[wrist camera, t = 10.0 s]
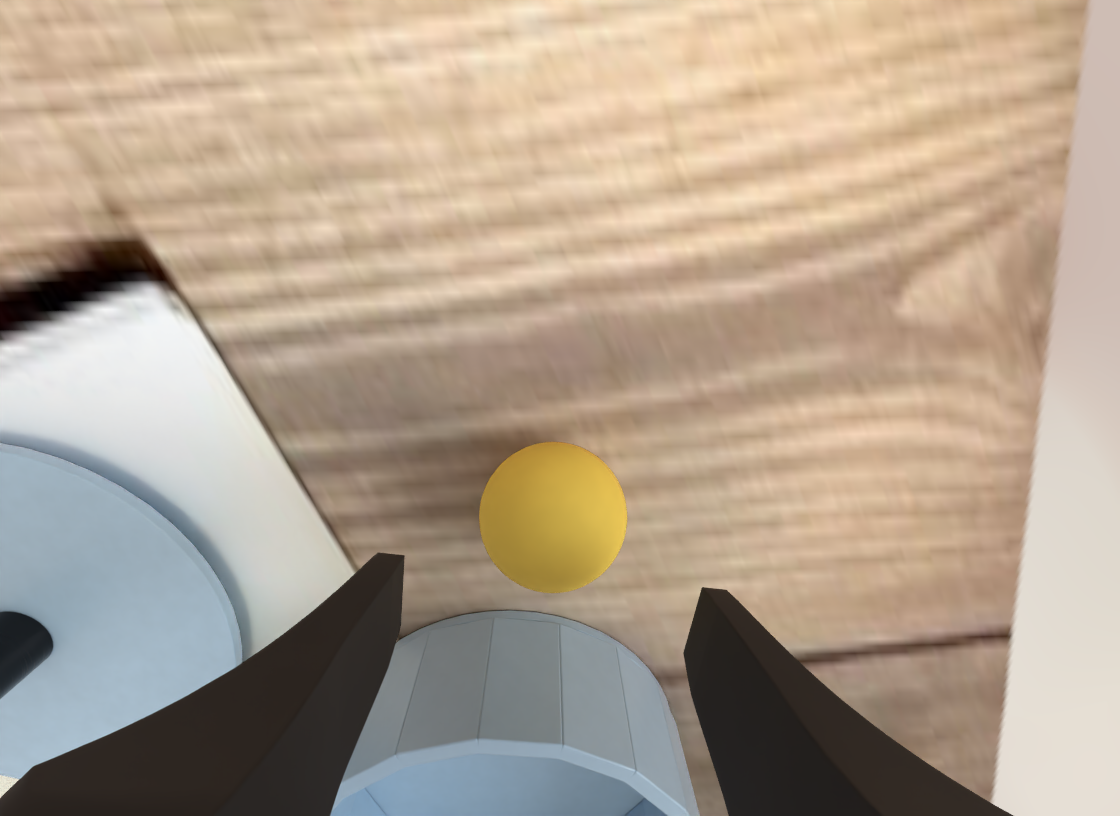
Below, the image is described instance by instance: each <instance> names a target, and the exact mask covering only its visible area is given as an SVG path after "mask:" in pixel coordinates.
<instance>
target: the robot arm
mask: <svg viewBox="0 0 1120 816" xmlns="http://www.w3.org/2000/svg"><path fill="white" fill-rule="evenodd" d="M403 574H404V555H395V554H386V553H377V554H376V555H375V556H373V557H372V558H371V559H370V560H369V561H368V562H367V563H366V564H365V565H364V566H363V567H362V568H361V569H360V570H358V571H357V572H356V573H355V574H354V575H353V576H352V577H351V578H350V579H349V580H348V581H347V582H346V583H344V584H343V585H342V586H341V587H340V588H339V589H338V590H337V591H336V592H334V593H333V594H332V595H331V596H330V597H329V598H327V599H326V600H325V601H324V602H323V603H322V604H320V605H319V606H318V607H317V608H316V609H315V610H313V611H312V612H311V613H310V614H309V615H307V616H306V617H305V618H303V619H302V620H301V621H300V622H298V623H297V624H296V625H294V626H293V627H292V628H291V629H289V630H288V631H287V632H286V633H284V634H283V635H282V636H280V637H279V638H278V639H276V640H275V641H273V642H272V643H271V644H269V645H268V646H266V647H265V648H264V649H262V650H261V651H259V652H258V653H256V654H255V655H253V656H252V657H250V658H249V659H247V660H246V661H244V662H243V663H241V664H240V665H238V666H237V667H235V668H234V669H232V670H230V671H229V672H227V673H225V674H223V675H222V676H220V677H218V678H217V679H215V680H213V681H211V682H210V683H208V684H206V685H204V686H203V687H201V688H199V689H198V690H196V691H194V692H192V693H191V694H189V695H187V696H185V697H183V698H182V699H180V700H178V701H176V702H174V703H172V704H170V705H168V706H166V707H164V708H162V709H160V710H158V711H157V712H155V713H153V714H150V715H148V716H146V717H144V718H142V719H140V720H138V721H136V722H134V723H132V724H130V725H128V726H126V727H124V728H121V729H119V730H117V731H115V732H113V733H111V734H108V735H106V736H104V737H101V738H99V739H97V740H94V741H92V742H90V743H87V744H85V745H83V746H80V747H78V748H76V749H73V750H71V751H69V752H66V753H64V754H62V755H59V756H57V757H55V758H52V759H50V760H47V761H45V762H42V763H40V764H37V765H35V766H33V767H32V768H31V769H30V770H29V771H28V772H27V773H26V774H25V775H24V776H23V777H22V778H20V779H19V780H18V781H17V782H16V783H15V784H14V785H13V786H12V787H11V788H10V789H9V790H8V791H7V792H6V793H5V794H4V795H3V796H2V797H1V798H0V816H330V815H331V812H332V808H333V805H334V802H335V799H336V796H337V793H338V790H339V787H340V784H341V782H342V779H343V776H344V774H345V771H346V768H347V766H348V763H349V761H350V758H351V756H352V754H353V751H354V749H355V746H356V744H357V742H358V739H359V737H360V735H361V732H362V730H363V727H364V725H365V723H366V720H367V718H368V716H369V713H370V711H371V708H372V706H373V704H374V701H375V699H376V696H377V694H378V692H379V689H380V687H381V684H382V682H383V680H384V677H385V675H386V672H387V670H388V667H389V664H390V661H391V657H392V654H393V651H394V647H395V644H396V640H397V637H398V633H399V630H400V626H401V611H402V593H403ZM684 659H685V664H686V670H687V676H688V681H689V686H690V691H691V696H692V699H693V702H694V705H695V709H696V712H697V715H698V718H699V721H700V725H701V728H702V731H703V734H704V737H705V740H706V743H707V746H708V750H709V753H710V756H711V759H712V762H713V765H714V768H715V771H716V774H717V778H718V781H719V784H720V787H721V790H722V793H723V796H724V800H725V804H726V807H727V811H728V814H729V816H1013V815H1011V814H1009V813H1008V812H1006V811H1004V810H1002V809H1000V808H999V807H997V806H995V805H993V804H992V803H990V802H988V801H986V800H985V799H983V798H982V797H980V796H978V795H977V794H975V793H973V792H972V791H970V790H969V789H967V788H965V787H964V786H962V785H960V784H959V783H957V782H955V781H954V780H952V779H951V778H949V777H947V776H946V775H944V774H943V773H941V772H940V771H938V770H937V769H935V768H934V767H932V766H931V765H929V764H928V763H926V762H925V761H923V760H922V759H920V758H919V757H917V756H916V755H914V754H913V753H912V752H910V751H909V750H907V749H906V748H904V747H903V746H902V745H900V744H899V743H897V742H896V741H894V740H893V739H892V738H890V737H889V736H887V735H886V734H885V733H883V732H882V731H881V730H879V729H878V728H877V727H875V726H874V725H873V724H871V723H870V722H869V721H868V720H866V719H865V718H864V717H863V716H861V715H860V714H859V713H858V712H856V711H855V710H854V709H852V708H851V707H850V706H849V705H847V704H846V703H845V702H844V701H843V700H841V699H840V698H839V697H838V696H837V695H835V694H834V693H833V692H832V691H831V690H830V689H828V688H827V687H826V686H825V685H824V684H823V683H822V682H821V681H820V680H818V679H817V678H816V677H815V676H814V675H813V674H812V673H811V672H809V671H808V670H807V669H806V668H805V667H804V666H803V665H802V664H801V663H800V662H799V661H798V660H797V659H796V658H794V657H793V656H792V655H791V654H790V653H789V652H788V651H787V650H786V649H785V648H784V647H783V646H782V645H781V644H780V643H779V642H778V641H777V640H776V639H775V638H774V637H773V636H772V635H771V634H770V633H769V632H768V631H767V630H766V629H765V628H764V627H763V626H762V625H761V624H760V623H759V622H758V621H757V620H756V619H755V618H754V617H753V616H752V615H751V614H750V613H749V612H748V611H747V610H746V609H745V608H744V607H743V606H742V604H741V603H740V602H739V601H738V600H736V599H735V598H734V597H733V596H732V595H731V594H730V593H729V592H728V591H727V590H722V589H713V588H704V587H702V590H701V593H700V597H699V600H698V604H697V607H696V611H695V614H694V618H693V621H692V625H691V628H690V632H689V635H688V639H687V642H686V646H685V649H684Z"/></svg>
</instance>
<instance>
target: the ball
mask: <svg viewBox="0 0 1120 816" xmlns="http://www.w3.org/2000/svg"><path fill="white" fill-rule="evenodd" d="M479 524H480V532H481V536H482V540H483V543H484V545H485V548H486V550H487V553H488V554H489V556H490V558H491V560H492V561H493V562H494V563H495V565H496V566H497V567H498V568H499V570H500V571H501V572H502V573H503V574H504V575H505V576H507V577H508V578H509V579H511V580H512V581H514V582H516V583H517V584H519V585H521V586H523V587H525V588H528V589H531V590H534V591H538V592H544V593H561V592H568V591H572V590H575V589H578V588H581V587H583V586H585V585H587V584H589V583H590V582H592V581H593V580H595V579H596V578H598V577H599V576H600V575H601V574H603V573H604V572H605V571H606V570H607V568H608V567H609V566H610V565H611V564H612V562H613V561H614V559H615V558H616V556H617V555H618V552H619V550H620V548H621V546H622V543H623V540H624V537H625V532H626V526H627V509H626V502H625V498H624V494H623V491H622V489H621V487H620V484H619V482H618V480H617V478H616V477H615V475H614V474H613V472H612V471H611V470H610V469H609V468H608V466H607V465H606V464H605V463H604V462H603V461H602V460H601V459H599V458H598V457H597V456H595V455H594V454H592V453H591V452H589V451H587V450H585V449H583V448H581V447H578V446H576V445H573V444H568V443H562V442H544V443H538V444H534V445H531V446H528V447H526V448H523V449H521V450H519V451H518V452H516V453H514V454H513V455H511V456H510V457H508V458H507V459H506V460H505V461H504V462H503V463H502V464H501V465H500V466H499V467H498V468H497V469H496V471H495V472H494V473H493V475H492V476H491V477H490V479H489V481H488V483H487V485H486V487H485V490H484V493H483V495H482V499H481V503H480V512H479Z"/></svg>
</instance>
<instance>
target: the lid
mask: <svg viewBox="0 0 1120 816" xmlns="http://www.w3.org/2000/svg"><path fill="white" fill-rule="evenodd" d="M241 663H242V644H241V635H240V629H239V626H238V622H237V619H236V615H235V612H234V609H233V607H232V604H231V602H230V600H229V598H228V595H227V593H226V591H225V589H224V587H223V585H222V584H221V582H220V580H219V579H218V577H217V576H216V574H215V572H214V571H213V569H212V568H211V566H210V565H209V563H208V562H207V561H206V560H205V558H204V557H203V556H202V555H201V554H200V552H199V551H198V550H197V549H196V547H195V546H194V545H193V544H192V543H191V542H190V541H189V540H188V539H187V538H186V537H185V536H184V535H183V534H182V533H181V532H180V531H179V530H178V529H177V528H176V527H175V526H174V525H173V524H172V523H171V522H170V521H168V520H167V519H166V518H165V517H164V516H162V515H161V514H160V513H159V512H157V511H156V510H155V509H154V508H152V507H151V506H150V505H149V504H147V503H146V502H144V501H143V500H141V499H140V498H138V497H137V496H135V495H133V494H132V493H130V492H129V491H127V490H126V489H124V488H123V487H121V486H119V485H118V484H116V483H114V482H112V481H110V480H108V479H106V478H104V477H102V476H100V475H98V474H96V473H95V472H93V471H91V470H88V469H86V468H83V467H81V466H78V465H76V464H73V463H71V462H69V461H66V460H64V459H61V458H58V457H55V456H52V455H48V454H45V453H42V452H38V451H35V450H32V449H28V448H24V447H18V446H13V445H8V444H3V443H0V775H3V776H8V777H12V778H17V779H20V778H22V777H23V776H24V775H25V774H26V773H27V772H28V771H29V770H30V769H31V768H32V767H33V766H35V765H37V764H40V763H42V762H45V761H47V760H50V759H52V758H55V757H57V756H59V755H62V754H64V753H66V752H69V751H71V750H73V749H76V748H78V747H80V746H83V745H85V744H87V743H90V742H92V741H94V740H97V739H99V738H101V737H104V736H106V735H108V734H111V733H113V732H115V731H117V730H119V729H121V728H124V727H126V726H128V725H130V724H132V723H134V722H136V721H138V720H140V719H142V718H144V717H146V716H148V715H150V714H153V713H155V712H157V711H158V710H160V709H162V708H164V707H166V706H168V705H170V704H172V703H174V702H176V701H178V700H180V699H182V698H183V697H185V696H187V695H189V694H191V693H192V692H194V691H196V690H198V689H199V688H201V687H203V686H204V685H206V684H208V683H210V682H211V681H213V680H215V679H217V678H218V677H220V676H222V675H223V674H225V673H227V672H229V671H230V670H232V669H234V668H235V667H237V666H238V665H240V664H241Z"/></svg>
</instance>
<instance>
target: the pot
mask: <svg viewBox="0 0 1120 816" xmlns="http://www.w3.org/2000/svg"><path fill="white" fill-rule="evenodd" d="M330 816H700V815H699V811H698V807H697V803H696V799H695V795H694V791H693V788H692V784H691V780H690V776H689V772H688V768H687V764H686V760H685V757H684V753H683V749H682V745H681V741H680V737H679V733H678V729H677V725H676V722H675V720H674V718H673V716H672V714H671V712H670V709H669V705H668V702H667V699H666V696H665V694H664V692H663V690H662V688H661V686H660V684H659V682H658V681H657V680H656V678H655V677H654V675H653V674H652V673H651V671H650V670H649V669H648V667H647V666H646V665H645V664H644V663H643V662H642V661H641V660H640V659H639V658H638V657H637V656H636V655H635V654H634V653H632V652H631V651H630V650H629V649H627V648H626V647H625V646H623V645H622V644H621V643H619V642H618V641H616V640H614V639H613V638H611V637H609V636H608V635H606V634H604V633H602V632H601V631H598V630H596V629H594V628H591V627H589V626H587V625H584V624H582V623H579V622H576V621H573V620H569V619H566V618H562V617H559V616H554V615H549V614H543V613H537V612H527V611H513V610H508V611H486V612H479V613H472V614H465V615H461V616H457V617H453V618H449V619H445V620H442V621H439V622H436V623H434V624H431V625H429V626H426V627H423V628H421V629H419V630H417V631H415V632H413V633H411V634H409V635H408V636H406V637H404V638H402V639H400V640H399V641H398V642H396V644H395V647H394V651H393V654H392V657H391V661H390V664H389V667H388V670H387V672H386V675H385V677H384V680H383V682H382V684H381V687H380V689H379V692H378V694H377V696H376V699H375V701H374V704H373V706H372V708H371V711H370V713H369V716H368V718H367V720H366V723H365V725H364V727H363V730H362V732H361V735H360V737H359V739H358V742H357V744H356V746H355V749H354V751H353V754H352V756H351V758H350V761H349V763H348V766H347V768H346V771H345V774H344V776H343V779H342V782H341V784H340V787H339V790H338V793H337V796H336V799H335V802H334V805H333V808H332V812H331V815H330Z"/></svg>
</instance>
